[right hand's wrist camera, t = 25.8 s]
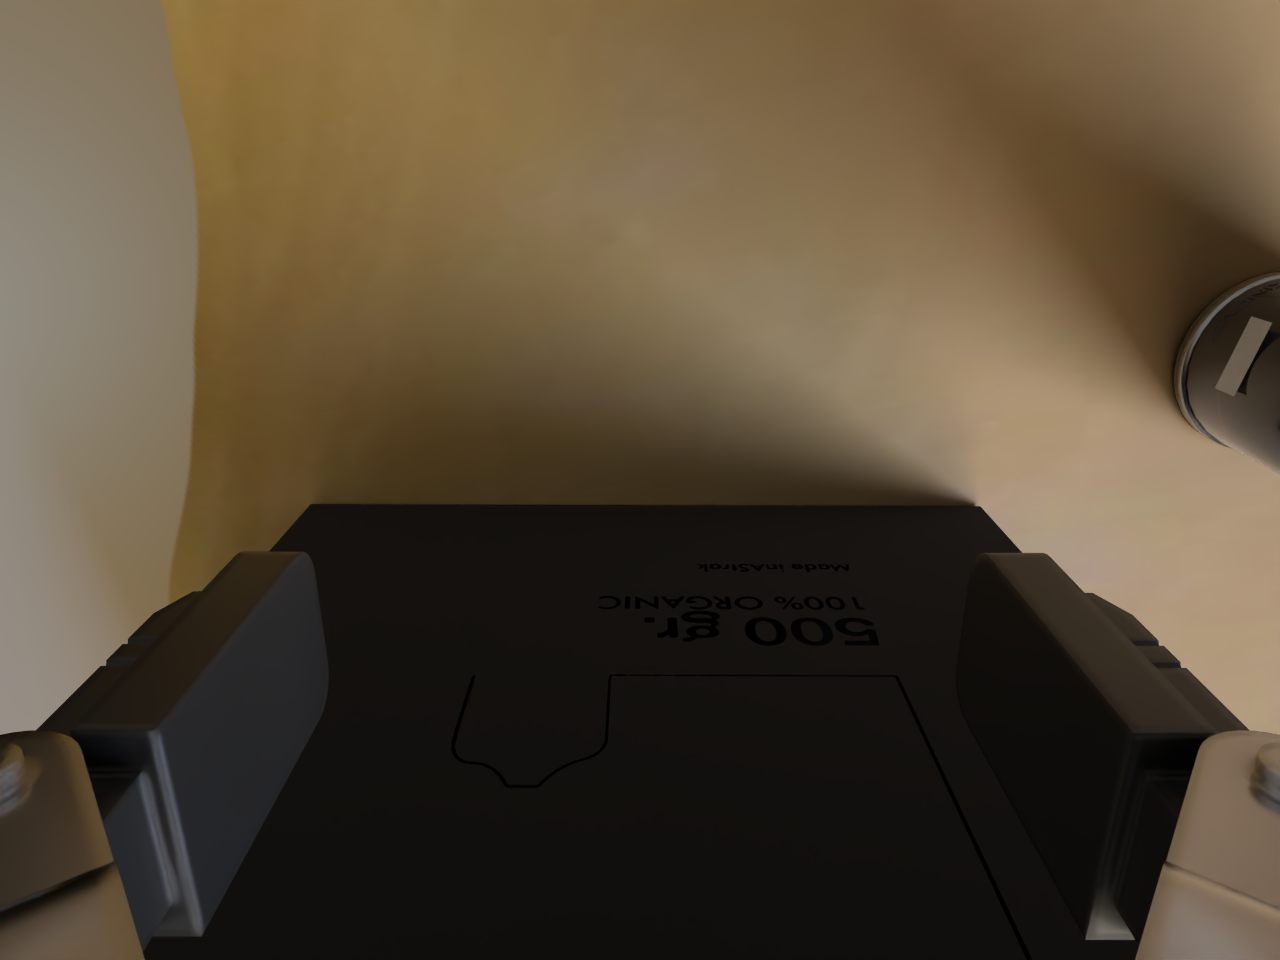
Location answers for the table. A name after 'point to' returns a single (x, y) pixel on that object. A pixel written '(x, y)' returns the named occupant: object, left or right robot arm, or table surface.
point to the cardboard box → (642, 746)
